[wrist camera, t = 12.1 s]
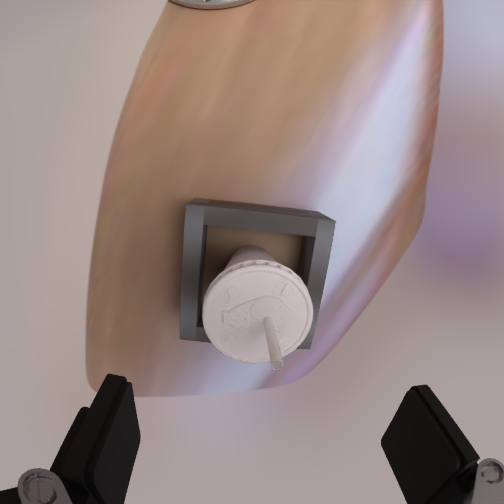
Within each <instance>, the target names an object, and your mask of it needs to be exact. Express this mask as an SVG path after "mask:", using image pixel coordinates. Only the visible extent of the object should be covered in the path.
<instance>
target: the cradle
mask: <svg viewBox="0 0 504 504" xmlns="http://www.w3.org/2000/svg"><path fill="white" fill-rule="evenodd" d="M335 222H336V221H334V220H333V219H331V218H329V217H327V216H325V215H323V214H321V213H319V212H315V211H308V210H300V209H292V208H284V207H276V206H268V205H259V204H250V203H241V202H231V201H221V200H211V199H200V198H195V199H194V200H192V201H191V202H189V203H188V204H186V212H185V225H184V240H183V256H182V276H181V302H180V339H183V340H192V341H200V342H210V343H212V342H211V341H210V339H209V338H208V336H207V334H206V332H205V329H204V325H203V318H202V314H203V310H202V308H203V302H204V296H205V294H206V292H207V290H208V288H209V286H210V284H211V283H212V282H213V280H214V279H215V278H216V277H217V276H218V275H219V274H220V273H221V272H223V271H224V270H225V268H226V266H227V264H228V262H229V261H230V259H231V257H232V255H233V254H234V253H235V252H236V251H237V250H238V249H239V248H241V247H243V246H247V245H256V246H259V247H262V248H263V249H265V250H266V251H267V252H268V253H269V254H270V255H271V256H272V257H273V258H274V259H275V260H276V261H277V262H278V263H279V264H281V265H284V266H286V267H288V268H290V269H291V270H292V271H293V272H294V273H296V274H297V275H298V276H299V277H300V278H301V280H302V281H303V283H304V284H305V286H306V287H307V289H308V293H309V295H310V298H311V300H312V305H313V320H312V325H311V328H310V330H309V332H308V334H307V336H306V338H305V339H304V340H303V342H302V343H301V344H300V345H299V346H298V347H297V348H296V349H310V347H311V343H312V339H313V335H314V330H315V326H316V322H317V317H318V313H319V308H320V303H321V298H322V294H323V289H324V284H325V279H326V273H327V268H328V263H329V257H330V252H331V246H332V240H333V235H334V229H335Z"/></svg>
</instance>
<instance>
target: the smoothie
mask: <svg viewBox="0 0 504 504" xmlns="http://www.w3.org/2000/svg"><path fill="white" fill-rule="evenodd" d="M202 310H203V314H202V318H203V325H204V329H205V332H206V334H207V336H208V338H209V339H210V341H211V342H212V344H213V345H214V346H215V347H216V348H217V349H218V350H219V351H221V352H222V353H223V354H225V355H226V356H228V357H230V358H232V359H235V360H238V361H241V362H246V363H266V362H271V367H272V368H273V369H275V370H278V369H281V368H282V367H283V365H284V363H283V359H282V357H284V356H286V355H288V354H289V353H291V352H292V351H294V350H295V349H296V348H297V347H298V346H299V345H300V344H301V343H302V342H303V340H304V339H305V338H306V336H307V334H308V332H309V330H310V328H311V325H312V320H313V305H312V300H311V298H310V295H309V293H308V289H307V287H306V286H305V284H304V283H303V281H302V280H301V278H300V277H299V276H298V275H297V274H296V273H294V272H293V271H292V270H291V269H290V268H288V267H286V266H284V265H281V264H279V263H278V262H277V261H276V260H275V259H274V258H273V257H272V256H271V255H270V254H269V253H268V252H267V251H266V250H265V249H263V248H262V247H259V246H256V245H247V246H243V247H241V248H239V249H238V250H237V251H236V252H235V253H234V254H233V255H232V257H231V259H230V261H229V262H228V264H227V266H226V268H225V270H224V271H223V272H221V273H220V274H219V275H218V276H217V277H216V278H215V279H214V280H213V282H212V283H211V284H210V286H209V288H208V290H207V292H206V294H205V296H204V302H203V308H202Z"/></svg>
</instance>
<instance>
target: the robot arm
mask: <svg viewBox="0 0 504 504" xmlns="http://www.w3.org/2000/svg"><path fill="white" fill-rule="evenodd" d="M171 1H173V2H175V3H178V4H181V5H183V6H187V7H193V8H200V9H220V8H228V7H234V6H238V5H241V4H245V3H248V2H250V1H253V0H171ZM207 1H208V2H207ZM139 444H140V429H139V424H138V419H137V413H136V407H135V402H134V395H133V388H132V383H131V382H127V379H126V377H123V376H118V375H113V374H107V376H106V377H105V379H104V381H103V383H102V385H101V387H100V389H99V391H98V393H97V395H96V397H95V398H94V400H93V403H92V404H91V406H90V408H88V407H82V408H81V409H80V411H79V412H78V414H77V416H76V418H75V420H74V422H73V424H72V426H71V427H70V430H69V431H68V433H67V436H66V438H65V439H64V441H63V444H62V445H61V447H60V450H59V452H58V454H57V456H56V458H55V460H54V462H53V464H52V466H51V468H50V470H46V469H41V468H37V469H31V470H28V471H26V472H25V473H24V474H22V476H21V477H20V479H19V481H18V486H17V487H15V488H11V489H7V490H3V491H0V504H124V501H125V497H126V493H127V489H128V485H129V481H130V477H131V474H132V470H133V466H134V462H135V459H136V455H137V451H138V448H139ZM381 446H382V448H383V450H384V452H385V455H386V457H387V459H388V461H389V464H390V466H391V468H392V470H393V472H394V475H395V477H396V479H397V481H398V484H399V486H400V488H401V490H402V492H403V495H404V497H405V500H406V502H407V504H504V465H503V464H502V463H501V462H500V461H498V460H496V459H492V458H488V459H484V460H483V461H481V462H480V463H479V464H477V461H478V460H479V459H480V457H479V455H478V454H477V453H476V451H475V450H474V448H473V447H472V445H471V444H470V442H469V441H468V440H467V438H466V437H465V435H464V434H463V433H462V431H461V430H460V428H459V427H458V425H457V424H456V423H455V421H454V420H453V418H452V417H451V416H450V414H449V413H448V412H447V410H446V409H445V408H444V406H443V405H442V404H441V402H440V401H439V399H438V398H437V397H436V396H435V394H434V393H433V391H432V390H431V389H430V387H428V385H419V386H413V387H411V388H410V390H409V391H407V393H406V394H405V396H404V398H403V400H402V402H401V404H400V406H399V408H398V410H397V412H396V414H395V416H394V418H393V419H392V421H391V423H390V425H389V426H388V428H387V430H386V432H385V433H384V435H383V437H382V439H381Z"/></svg>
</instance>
